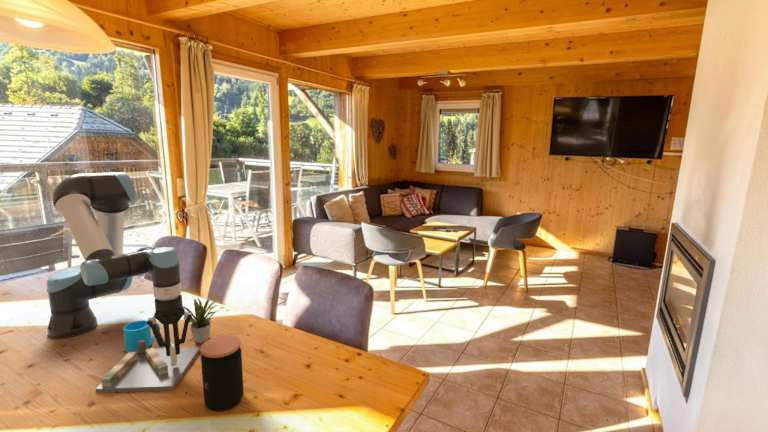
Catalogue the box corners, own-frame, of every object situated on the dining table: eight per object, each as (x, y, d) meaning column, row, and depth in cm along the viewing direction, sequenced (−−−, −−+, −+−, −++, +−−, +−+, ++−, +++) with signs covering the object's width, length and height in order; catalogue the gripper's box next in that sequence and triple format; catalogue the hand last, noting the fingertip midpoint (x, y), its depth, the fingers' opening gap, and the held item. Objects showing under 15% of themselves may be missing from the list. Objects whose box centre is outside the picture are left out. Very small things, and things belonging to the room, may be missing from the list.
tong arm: (146, 356, 131) (145, 349, 131) (154, 353, 133) (153, 347, 133) (159, 375, 121) (158, 368, 121) (168, 372, 123) (167, 365, 122)
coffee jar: (212, 389, 117) (208, 335, 114) (247, 388, 118) (245, 334, 115) (198, 413, 107) (193, 355, 103) (237, 412, 108) (234, 354, 104)
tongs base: (137, 350, 135) (136, 338, 134) (152, 350, 136) (151, 338, 135) (102, 386, 115) (100, 373, 115) (119, 386, 116) (117, 372, 115)
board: (135, 352, 136) (135, 349, 136) (200, 350, 138) (199, 347, 138) (96, 392, 115) (95, 388, 114) (173, 389, 117) (172, 386, 116)
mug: (132, 354, 135) (130, 333, 133) (121, 347, 139) (118, 327, 137) (166, 340, 145) (164, 320, 143) (155, 334, 149) (153, 314, 147)
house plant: (233, 335, 149) (230, 296, 146) (203, 352, 137) (200, 310, 134) (206, 327, 155) (204, 289, 152) (176, 343, 143) (172, 302, 139)
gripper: (142, 303, 115) (149, 374, 120) (190, 297, 120) (195, 365, 125) (146, 294, 122) (153, 361, 127) (191, 289, 127) (196, 353, 132)
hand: (174, 363), depth 126 cm, fingers closed
